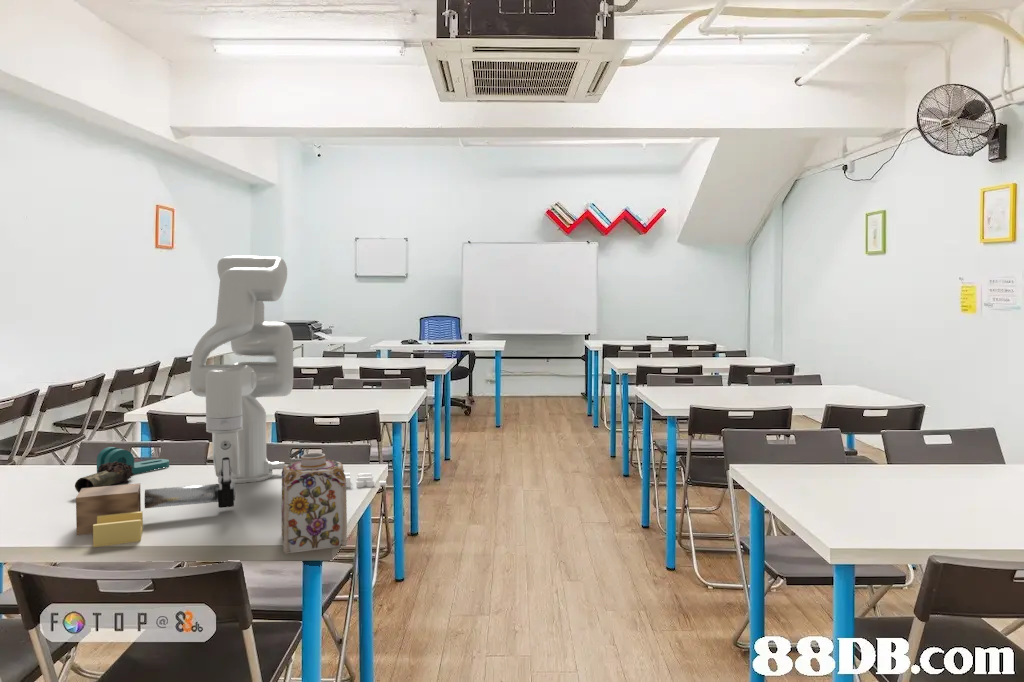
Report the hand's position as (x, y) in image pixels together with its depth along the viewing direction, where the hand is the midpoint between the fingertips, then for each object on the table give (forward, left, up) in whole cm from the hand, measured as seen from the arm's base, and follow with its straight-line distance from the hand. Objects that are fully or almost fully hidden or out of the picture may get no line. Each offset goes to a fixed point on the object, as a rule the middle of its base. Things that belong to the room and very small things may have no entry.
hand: (225, 503), depth 155 cm
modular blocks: (-33, -11, -3) cm, 35 cm away
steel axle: (+7, 0, +3) cm, 7 cm away
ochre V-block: (+20, +11, -3) cm, 23 cm away
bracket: (+21, -53, -3) cm, 58 cm away
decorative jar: (-15, +29, -3) cm, 32 cm away
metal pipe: (+29, -30, -5) cm, 43 cm away
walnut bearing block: (+23, +1, -3) cm, 23 cm away
